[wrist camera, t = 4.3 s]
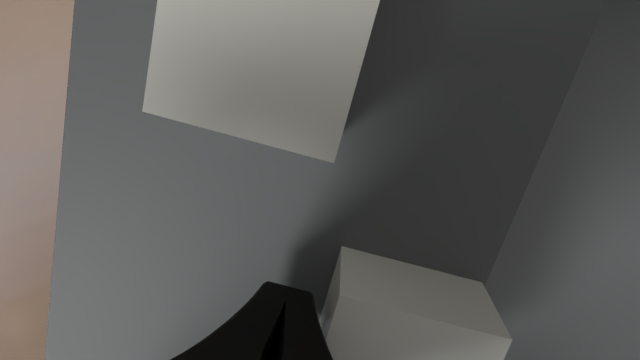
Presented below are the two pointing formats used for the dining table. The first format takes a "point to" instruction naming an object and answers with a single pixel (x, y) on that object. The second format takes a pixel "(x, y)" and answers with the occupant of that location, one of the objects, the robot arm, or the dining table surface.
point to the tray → (581, 214)
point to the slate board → (296, 171)
